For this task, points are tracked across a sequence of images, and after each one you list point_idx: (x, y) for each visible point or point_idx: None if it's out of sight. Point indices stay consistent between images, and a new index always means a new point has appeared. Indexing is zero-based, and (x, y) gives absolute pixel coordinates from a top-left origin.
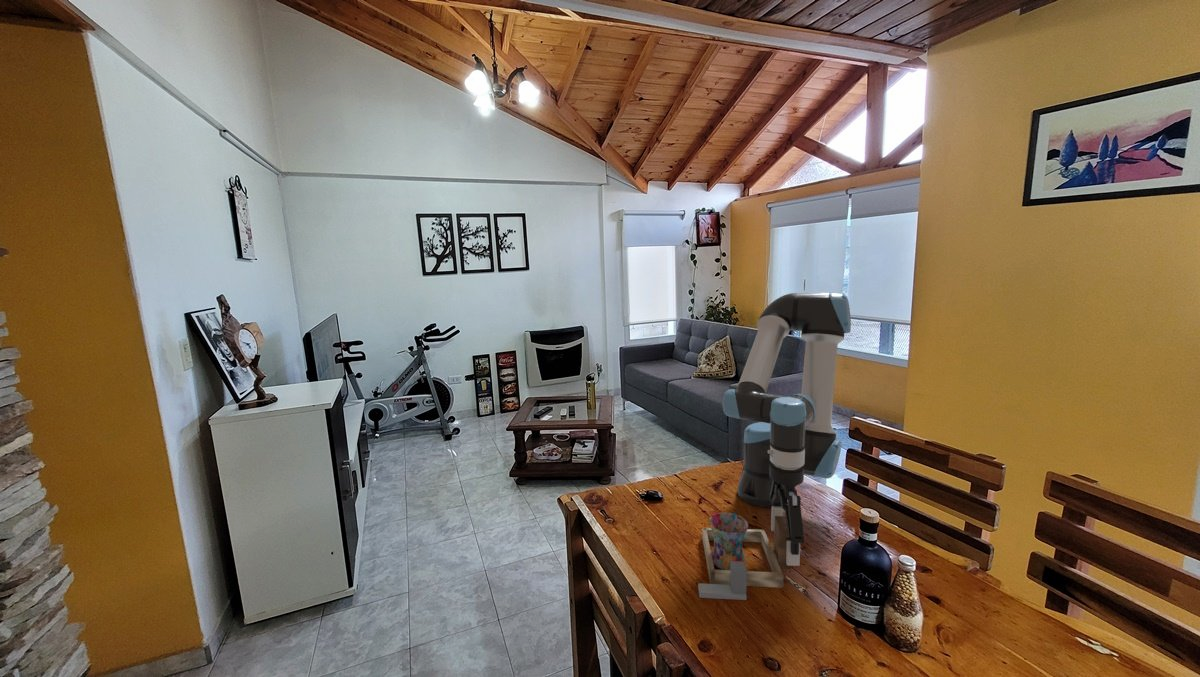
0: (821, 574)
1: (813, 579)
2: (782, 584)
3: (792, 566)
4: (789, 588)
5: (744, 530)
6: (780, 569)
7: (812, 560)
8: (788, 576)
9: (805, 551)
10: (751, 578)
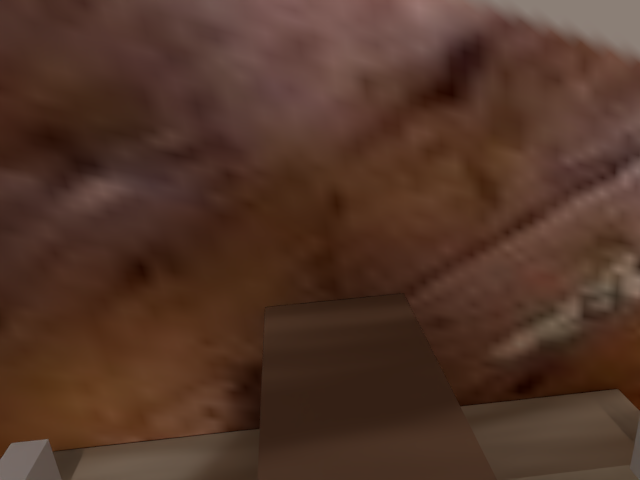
0: (470, 80)
1: (536, 167)
2: (635, 409)
3: (405, 306)
4: (625, 352)
5: None
6: (613, 470)
7: (267, 110)
8: (501, 340)
9: (128, 143)
10: None
